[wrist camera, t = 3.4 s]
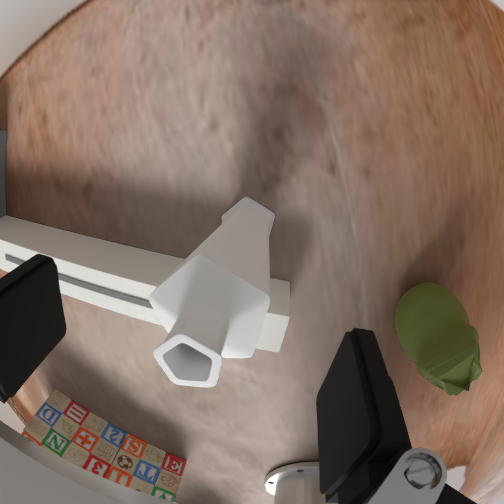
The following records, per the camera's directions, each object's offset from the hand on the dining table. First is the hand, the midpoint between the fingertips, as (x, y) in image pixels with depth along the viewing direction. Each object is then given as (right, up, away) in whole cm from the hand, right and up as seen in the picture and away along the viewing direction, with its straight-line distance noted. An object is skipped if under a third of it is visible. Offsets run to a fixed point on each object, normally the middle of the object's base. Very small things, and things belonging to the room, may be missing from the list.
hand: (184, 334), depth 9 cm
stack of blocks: (-18, -24, +27) cm, 41 cm away
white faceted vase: (+2, +5, +14) cm, 15 cm away
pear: (+16, -2, +15) cm, 22 cm away
